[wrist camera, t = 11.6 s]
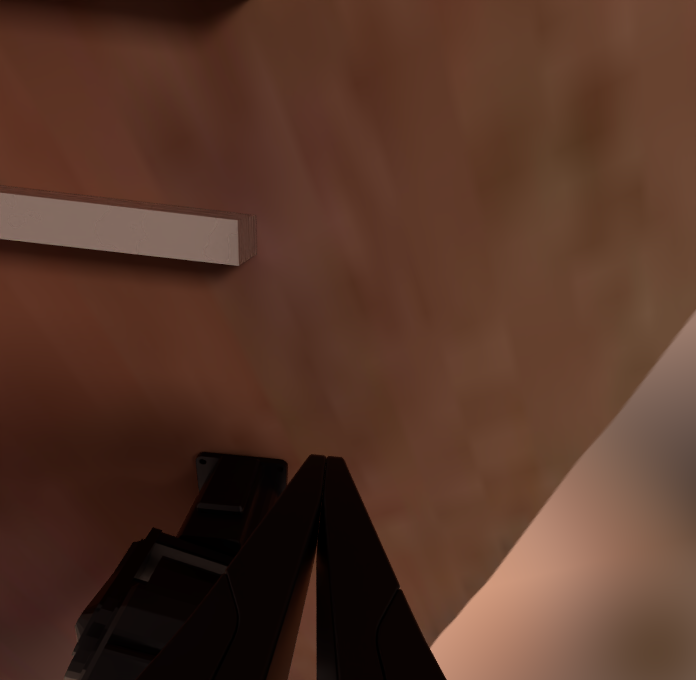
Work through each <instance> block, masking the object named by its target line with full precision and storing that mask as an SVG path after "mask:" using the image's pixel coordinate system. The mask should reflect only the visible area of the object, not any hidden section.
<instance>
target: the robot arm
mask: <svg viewBox="0 0 696 680" xmlns="http://www.w3.org/2000/svg"><path fill="white" fill-rule="evenodd" d="M203 459H204V460H203ZM325 466H326V468H325ZM280 467H282V468H280ZM196 468H197V477H198V486H199V494H198V496H197V497H196V499H195V501H194V503H193V505H192V507H191V509H190V511H189V513H188V515H187V517H186V519H185V521H184V523H183V525H182V527H181V528H180V530H179V532H178V534H177V536H176V537H175V536H172V535H169V534H166V533H163V532H162V530H160V529H157V528H154V527H153V528H152V530H151V531H150V533H149V534H148V536H147V537H146V539H144V540H143V539H141V541H137V542H133V543H132V545H131V546H130V548H129V550H128V551H127V553H126V554H125V556H124V558H123V559H122V561H121V562H120V564H119V565H118V567H117V568H116V570H115V571H114V573H113V574H112V575H111V577H110V578H109V579H108V581H107V582H106V583H105V584H104V586H103V587H102V588H101V590H100V591H99V592H98V593H97V595H96V596H95V597H94V598H93V600H92V601H91V602H90V603H89V605H88V606H87V607H86V609H85V610H84V611H83V613H82V614H81V616H80V617H79V619H78V621H77V623H76V625H75V632H76V638H77V644H76V646H75V649H74V651H73V653H72V655H73V656H74V657H73V659H72V661H71V663H70V665H69V667H68V669H67V672H66V674H65V676H64V680H288V676H289V671H290V667H291V662H292V658H293V653H294V649H295V644H296V640H297V635H298V631H299V626H300V622H301V617H302V613H303V608H304V604H305V599H306V595H307V590H308V586H309V581H310V577H311V572H312V568H313V563H314V558H315V553H316V547H317V560H316V597H317V680H447V679H446V678H445V676H444V674H443V672H442V670H441V669H440V667H439V665H438V663H437V661H436V659H435V657H434V655H433V654H432V652H431V650H430V648H429V646H428V644H427V642H426V641H425V638H424V636H423V634H422V632H421V630H420V628H419V626H418V624H417V622H416V620H415V617H414V615H413V613H412V611H411V609H410V607H409V605H408V602H407V600H406V598H405V595H404V593H403V591H402V590H401V589H399V588H400V585H399V582H398V580H397V578H396V576H395V573H394V571H393V569H392V567H391V564H390V562H389V560H388V558H387V555H386V553H385V551H384V549H383V546H382V544H381V542H380V540H379V537H378V535H377V533H376V531H375V528H374V526H373V524H372V522H371V519H370V517H369V515H368V513H367V510H366V508H365V506H364V503H363V501H362V499H361V497H360V494H359V492H358V490H357V488H356V485H355V483H354V481H353V479H352V476H351V474H350V472H349V470H348V467H347V465H346V463H345V461H344V459H343V458H342V457H334V456H328V457H327V459H326V456H324V455H314V454H311V455H310V456H309V457H308V458H307V459H306V461H305V462H304V463H303V465H302V466H301V467H300V469H299V470H298V472H297V473H296V474H295V476H294V477H293V478H292V480H291V481H290V482H289V484H288V485H287V475H288V464H287V462H285V461H284V460H278V459H267V458H257V457H247V456H237V455H227V454H217V453H206V452H202V453H200V454H199V455H198V457H197V458H196ZM324 475H325V477H324ZM323 484H324V486H323ZM322 494H323V495H322ZM321 503H322V504H321ZM320 512H321V514H320ZM319 521H320V523H319ZM318 530H319V532H318ZM317 539H318V542H317Z"/></svg>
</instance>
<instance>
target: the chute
mask: <svg viewBox="0 0 696 680" xmlns="http://www.w3.org/2000/svg"><path fill="white" fill-rule="evenodd" d="M0 239H6V240H14V241H23V242H32V243H41V244H50V245H59V246H68V247H76V248H85V249H94V250H103V251H112V252H121V253H130V254H139V255H147V256H156V257H165V258H174V259H183V260H192V261H201V262H209V263H218V264H227V265H236V266H239V265H241V264H242V263H244V262H245V261H247V260H248V259H250V258H251V257H253V256H254V255H256V215H249V214H241V213H232V212H223V211H215V210H206V209H198V208H189V207H181V206H172V205H164V204H155V203H146V202H138V201H129V200H121V199H112V198H104V197H95V196H86V195H78V194H69V193H61V192H52V191H44V190H35V189H27V188H18V187H9V186H1V185H0Z"/></svg>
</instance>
